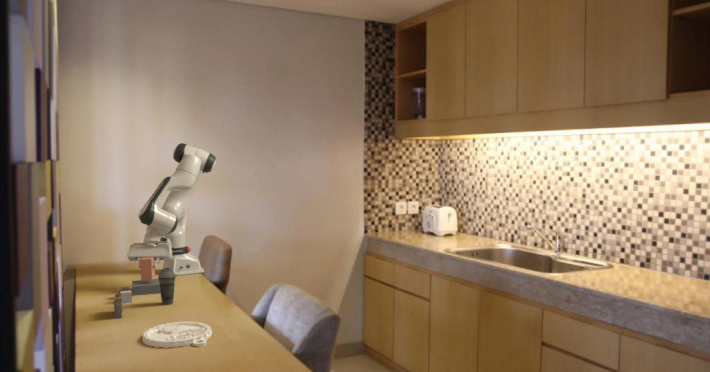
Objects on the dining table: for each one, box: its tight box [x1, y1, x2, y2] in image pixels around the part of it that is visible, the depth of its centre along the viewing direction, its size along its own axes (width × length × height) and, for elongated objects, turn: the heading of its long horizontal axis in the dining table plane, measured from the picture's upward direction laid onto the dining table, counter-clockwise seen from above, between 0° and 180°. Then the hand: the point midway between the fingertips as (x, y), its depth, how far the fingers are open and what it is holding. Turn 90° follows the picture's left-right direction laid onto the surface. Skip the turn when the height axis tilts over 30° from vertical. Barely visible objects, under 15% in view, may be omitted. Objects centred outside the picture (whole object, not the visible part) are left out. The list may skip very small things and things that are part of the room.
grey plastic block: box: [120, 289, 133, 304], centre depth 248 cm, size 4×4×4 cm
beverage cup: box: [157, 258, 177, 306], centre depth 245 cm, size 7×7×20 cm
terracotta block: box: [140, 257, 156, 280], centre depth 267 cm, size 5×5×10 cm
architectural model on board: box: [113, 293, 123, 320], centre depth 229 cm, size 11×3×10 cm, turn 21°
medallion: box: [142, 320, 213, 349], centre depth 201 cm, size 24×27×2 cm
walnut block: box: [118, 286, 131, 294], centre depth 255 cm, size 4×4×4 cm
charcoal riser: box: [131, 278, 161, 296], centre depth 268 cm, size 13×13×4 cm
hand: (147, 267), depth 267 cm, fingers closed on terracotta block, 5 cm apart
